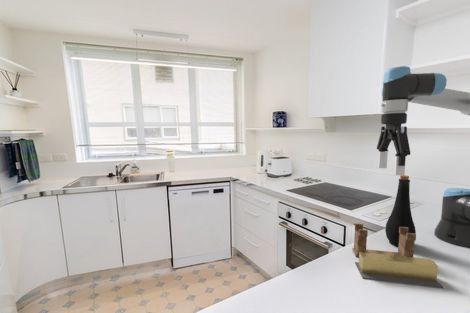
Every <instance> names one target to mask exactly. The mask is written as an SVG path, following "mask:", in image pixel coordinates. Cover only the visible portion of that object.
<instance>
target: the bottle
mask: <svg viewBox="0 0 470 313" xmlns="http://www.w3.org/2000/svg"><path fill="white" fill-rule="evenodd" d="M410 182H411V180H410V176H409V175H407V174H405V175H399V179H398V186H397V192H396V197H395V201H394V204H393V208H392V211H391V213H390V215H389V217H388V219H387V221H386V223H385V229H384V230H385V236H386V239H387V240H388V242H389V244H390V245H391V246H394V247H396V248H398V246H399V235H400V233H399V227H408V228H409V229H408V233H415V234H416V233H417V231H416V227H415V223H414V220H413V216H412V210H411V200H410V186H411V185H410ZM416 235H417V234H416Z"/></svg>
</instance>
